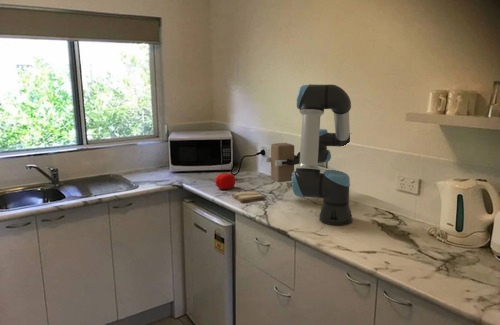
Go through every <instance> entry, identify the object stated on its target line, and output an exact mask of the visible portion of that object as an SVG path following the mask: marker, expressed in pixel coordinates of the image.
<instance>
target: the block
mask: <svg viewBox="0 0 500 325" xmlns="http://www.w3.org/2000/svg"><path fill="white" fill-rule="evenodd" d="M294 155H295V145H294V144H292V143H287V142H279V143H272V144H270V157H271V162H270V163H271V164H270V174H271V175H270V177H271V179H272V180H274V181H275V182H276V183H285V182H292V173H293V172H294V171H295V165H292V166H291V165H281V166H276V161H278V160H287V159H290V160H294ZM292 164H293V162H292Z"/></svg>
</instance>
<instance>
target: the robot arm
mask: <svg viewBox="0 0 500 325" xmlns="http://www.w3.org/2000/svg"><path fill="white" fill-rule="evenodd" d="M296 97H297V98H296V108H297V109H298V110H299V113H300V114H301V116H302V117H301V118H302V119H301V134H300V136H301V137H300V149H299V150H300V151H299V152H298V153H297V154H296V155H295V154H294V160H290V159H287V160H278V161H276V166H281V165H291V166H292V165H294V166H296V165H298V166H296V167H295V170H294V172H293V173H292V181H291V187H292V191H293V193H294V195H295V196H296V197H303V198H315V199H316V198H319V199H323V204H322V207H321V210H320V213H319V221H320V222H321V223H322V224H325V225H329V226H345V225H349V224H352V222H353V215H352V210H351V207H350V186H351V183H350V180H351V179H350V175H349V174H347V173H346V172H343V171H342V170H341V171H340V170H335V169H331V170H330V169H326V170H324V172H322V173H321V168H320V167H319V166H318V164H324V163H328V162H330V161H331V159H332V154H331V151H330V149H328V147H341V146H344V145H346V144H347V143H349V142H350V134H351V132H350V129H351V128H350V110H351V108H352V101H351V98H350V96H349V95H348V93H347V91H345V90H344V89H343V88H342V87H340V86H338V85H336V84H331V83H330V84H329V83H328V84H311V83H310V84H303V85H301V86H300V87H299V89H298V92H297V95H296ZM325 110H331V112H333V121H334V131H335V132H328V129H326V128H321V117H322V115H324V114H325ZM341 148H342V147H341ZM292 162H293V164H292ZM265 163H271V156H267V157H265Z"/></svg>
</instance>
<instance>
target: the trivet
mask: <svg viewBox="0 0 500 325" xmlns="http://www.w3.org/2000/svg"><path fill="white" fill-rule="evenodd" d="M231 197H232V198H233V199H235V200H237V201H238V202H240V203H241V204H246V203H253V202H258V201H264V200H265V199H266V197H265V196H264V195H262V194H261V193H258V192H257V191H255V190H247V191H241V192H235V193H231Z"/></svg>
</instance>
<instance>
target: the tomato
mask: <svg viewBox="0 0 500 325" xmlns="http://www.w3.org/2000/svg"><path fill="white" fill-rule="evenodd" d="M214 180H215V181H214V182H215V185H216V187H217V188H218V189H219V190H220V189H221V190H229V189H232V188H234V186H235V184H236V177H235V175H234V174H232V173H230V172H222V173H219V174H218V175H217V176H216V177H215V179H214Z"/></svg>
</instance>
